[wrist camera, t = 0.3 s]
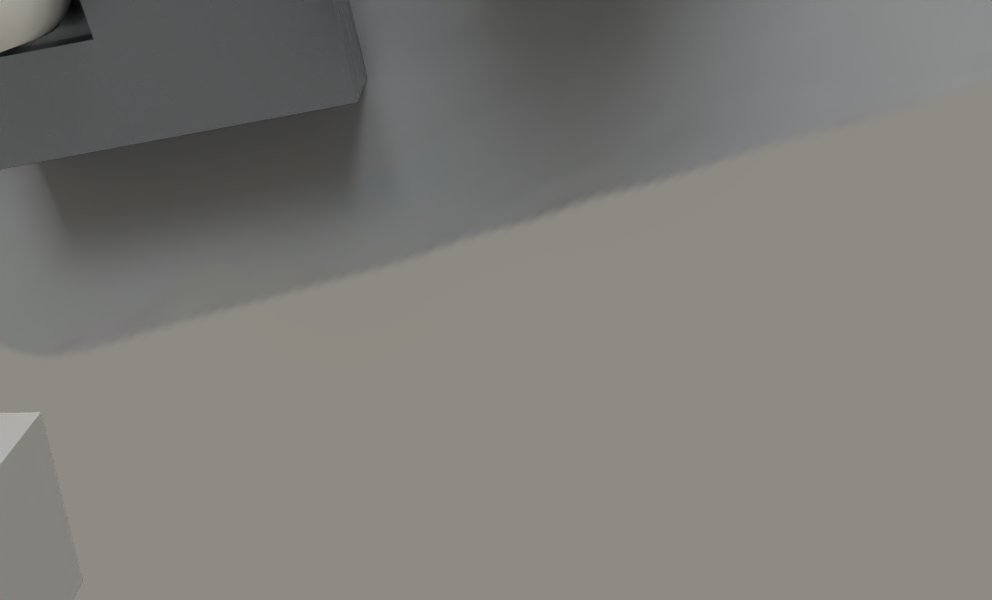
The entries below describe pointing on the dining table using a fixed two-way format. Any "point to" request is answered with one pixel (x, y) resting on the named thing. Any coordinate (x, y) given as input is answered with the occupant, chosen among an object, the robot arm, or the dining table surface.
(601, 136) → the dining table surface
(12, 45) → the white button
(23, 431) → the robot arm
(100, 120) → the panel
